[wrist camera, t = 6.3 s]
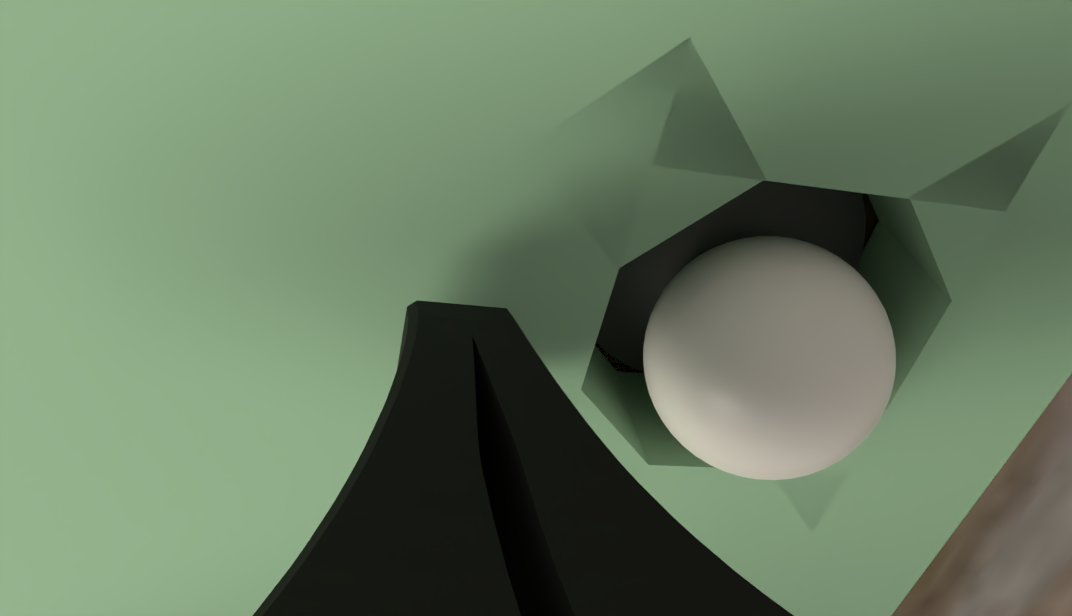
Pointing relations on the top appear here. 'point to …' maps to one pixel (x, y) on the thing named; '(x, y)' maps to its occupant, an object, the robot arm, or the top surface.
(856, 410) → the ball
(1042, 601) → the top surface
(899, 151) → the putting mat
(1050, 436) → the top surface
